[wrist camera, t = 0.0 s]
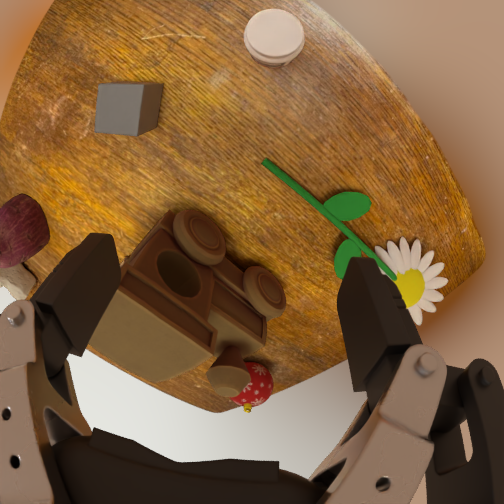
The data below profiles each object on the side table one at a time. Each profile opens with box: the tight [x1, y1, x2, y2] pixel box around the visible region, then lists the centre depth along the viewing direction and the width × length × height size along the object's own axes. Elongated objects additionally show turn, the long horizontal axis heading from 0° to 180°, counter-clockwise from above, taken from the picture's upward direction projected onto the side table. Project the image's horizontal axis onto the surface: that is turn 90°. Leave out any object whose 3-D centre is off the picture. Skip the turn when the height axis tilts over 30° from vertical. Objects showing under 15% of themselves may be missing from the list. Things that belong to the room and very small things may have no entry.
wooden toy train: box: [88, 209, 286, 397], centre depth 29 cm, size 20×11×17 cm, turn 44°
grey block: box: [95, 81, 163, 136], centre depth 22 cm, size 5×5×5 cm
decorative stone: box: [0, 263, 36, 300], centre depth 37 cm, size 11×9×10 cm
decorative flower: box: [261, 158, 448, 325], centre depth 31 cm, size 13×5×30 cm
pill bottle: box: [244, 9, 305, 68], centre depth 17 cm, size 5×5×8 cm
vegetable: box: [0, 194, 50, 269], centre depth 28 cm, size 10×10×15 cm
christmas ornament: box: [230, 362, 273, 413], centre depth 45 cm, size 9×9×10 cm
